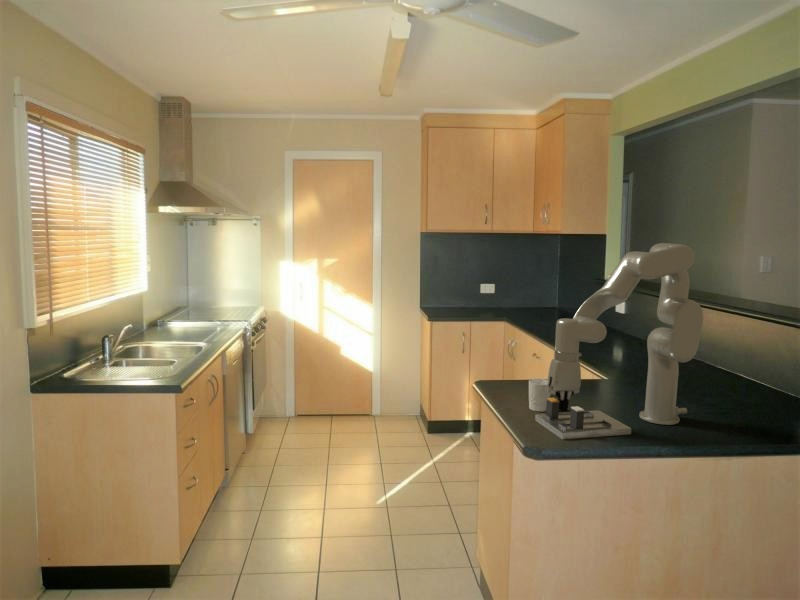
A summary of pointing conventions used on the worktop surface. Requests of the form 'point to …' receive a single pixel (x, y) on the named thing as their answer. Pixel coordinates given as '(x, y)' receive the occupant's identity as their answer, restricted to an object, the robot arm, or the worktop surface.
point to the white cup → (538, 394)
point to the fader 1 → (552, 408)
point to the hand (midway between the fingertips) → (562, 410)
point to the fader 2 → (577, 417)
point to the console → (592, 425)
